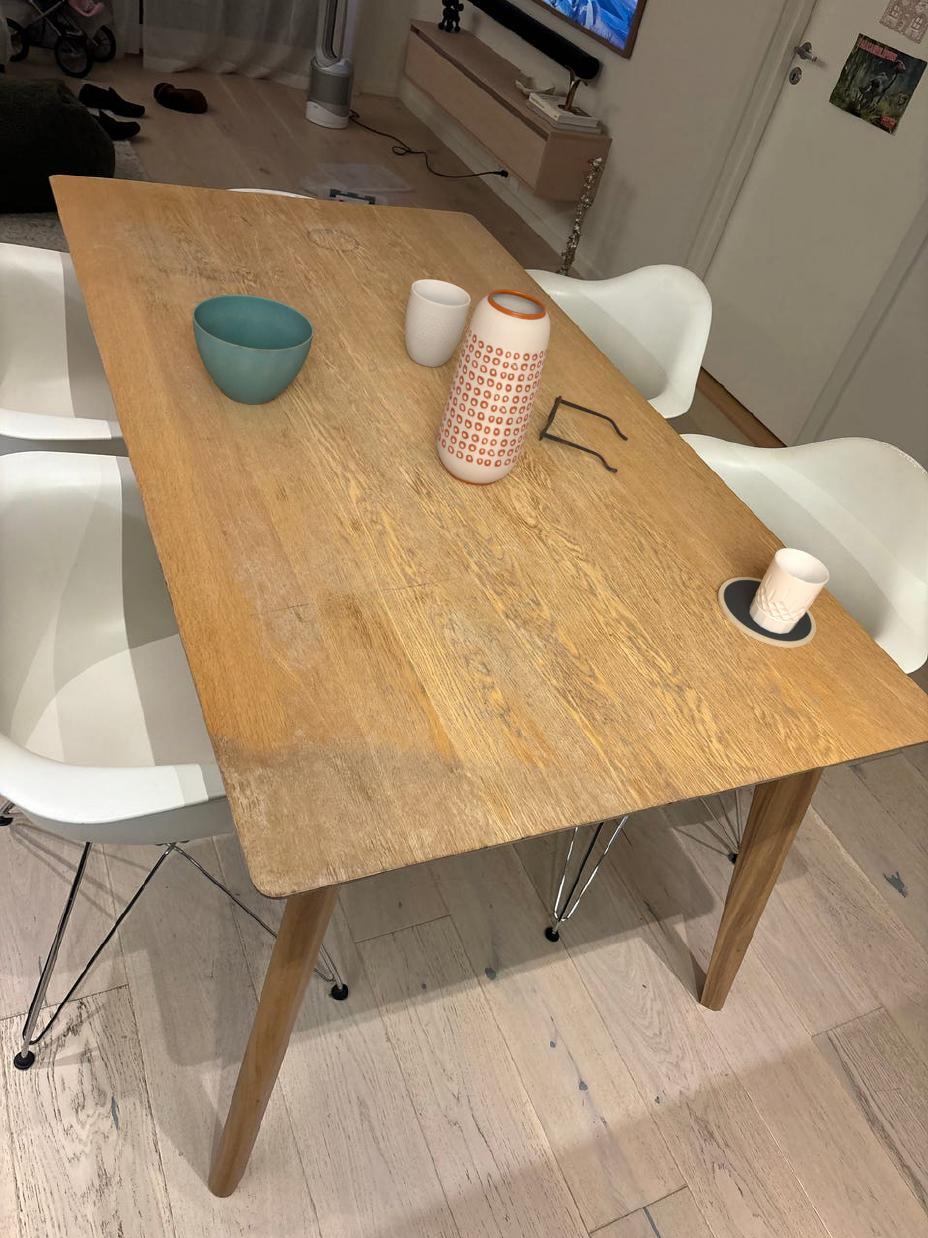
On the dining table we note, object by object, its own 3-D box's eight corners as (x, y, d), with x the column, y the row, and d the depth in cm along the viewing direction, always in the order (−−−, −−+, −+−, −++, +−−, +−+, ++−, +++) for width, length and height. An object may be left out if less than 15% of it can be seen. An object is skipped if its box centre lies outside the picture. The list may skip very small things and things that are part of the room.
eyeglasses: (551, 411, 168) (558, 387, 165) (627, 438, 167) (637, 414, 164) (534, 447, 157) (543, 421, 154) (617, 475, 156) (627, 450, 153)
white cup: (807, 629, 134) (840, 577, 127) (773, 642, 129) (806, 589, 123) (767, 595, 138) (798, 543, 131) (734, 607, 134) (763, 554, 127)
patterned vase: (527, 476, 149) (580, 311, 131) (481, 504, 140) (531, 331, 122) (462, 438, 153) (505, 274, 135) (413, 463, 144) (453, 290, 126)
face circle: (832, 626, 137) (834, 623, 136) (782, 661, 128) (784, 658, 127) (750, 568, 144) (752, 565, 143) (698, 598, 134) (699, 595, 134)
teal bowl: (310, 425, 145) (320, 354, 138) (190, 416, 140) (193, 341, 132) (299, 370, 158) (307, 302, 150) (189, 359, 152) (191, 287, 144)
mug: (384, 334, 176) (396, 267, 168) (436, 336, 181) (451, 271, 172) (409, 372, 167) (423, 304, 158) (464, 374, 171) (480, 307, 163)
